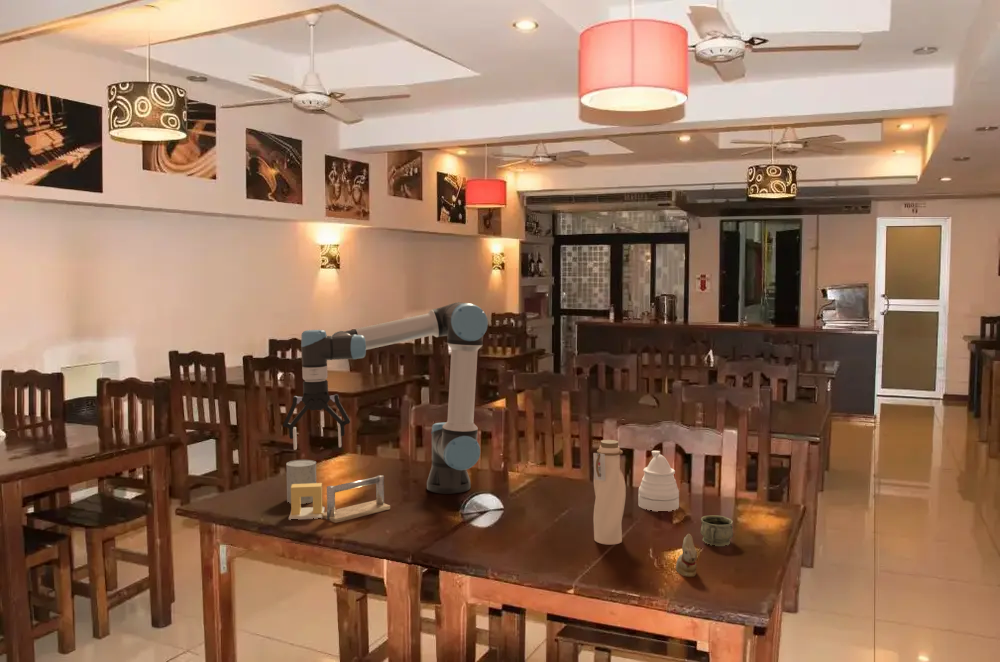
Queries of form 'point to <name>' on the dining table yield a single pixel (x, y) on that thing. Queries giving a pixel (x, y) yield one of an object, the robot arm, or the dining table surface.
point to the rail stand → (357, 509)
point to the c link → (306, 491)
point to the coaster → (307, 514)
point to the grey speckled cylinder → (300, 476)
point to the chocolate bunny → (687, 558)
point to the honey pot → (658, 486)
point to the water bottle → (608, 493)
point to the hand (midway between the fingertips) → (317, 447)
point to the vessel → (716, 530)
